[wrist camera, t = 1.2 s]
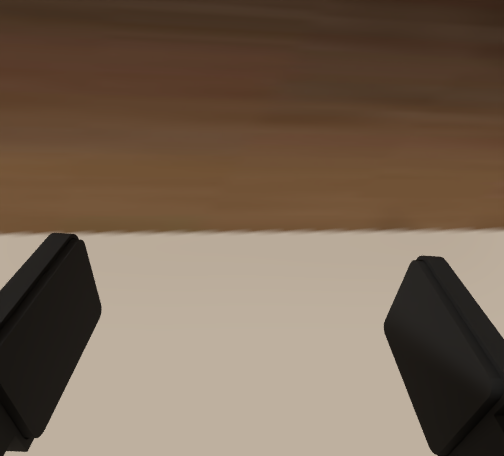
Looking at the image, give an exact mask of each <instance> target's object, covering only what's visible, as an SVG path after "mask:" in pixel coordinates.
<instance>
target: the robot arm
mask: <svg viewBox="0 0 504 456" xmlns="http://www.w3.org/2000/svg"><path fill="white" fill-rule="evenodd" d="M100 315H101V303H100V300H99V295H98V292H97V288H96V284H95V280H94V277H93V273H92V269H91V265H90V262H89V258H88V254H87V251H86V247H85V243H84V241H83V240H79V239H78V237H77V236H76V235H75V234H64V233H52V234H50V235H49V236H48V237H47V238H46V239H45V241H44V242H43V243H42V244H41V245H40V246H39V247H38V249H37V250H36V251H35V252H34V253H33V254H32V256H31V257H30V258H29V259H28V260H27V261H26V262H25V263H24V264H23V266H22V267H21V268H20V269H19V270H18V271H17V272H16V273H15V275H14V276H13V277H12V278H11V279H10V280H9V281H8V283H7V284H6V285H5V286H4V287H3V288H2V289H1V290H0V456H4V454H5V452H6V451H22V452H27V451H28V449H29V447H30V445H31V443H32V441H33V440H34V438H38V437H40V436H41V434H42V433H43V432H44V430H45V428H46V426H47V424H48V422H49V420H50V418H51V416H52V414H53V412H54V410H55V408H56V406H57V404H58V402H59V400H60V398H61V395H62V393H63V392H64V390H65V387H66V385H67V383H68V381H69V379H70V377H71V375H72V373H73V371H74V369H75V367H76V365H77V363H78V361H79V359H80V357H81V355H82V352H83V351H84V349H85V347H86V345H87V343H88V341H89V339H90V337H91V334H92V333H93V331H94V328H95V327H96V324H97V322H98V320H99V318H100ZM384 332H385V335H386V338H387V340H388V343H389V346H390V348H391V350H392V353H393V356H394V358H395V361H396V363H397V366H398V369H399V371H400V374H401V376H402V379H403V381H404V384H405V386H406V389H407V391H408V394H409V397H410V399H411V402H412V404H413V407H414V409H415V412H416V415H417V417H418V420H419V422H420V425H421V427H422V430H423V433H424V435H425V437H426V440H427V443H428V445H429V447H430V449H431V451H432V452H433V453H434V454H436V455H438V456H504V339H503V337H502V336H501V335H500V333H499V332H498V331H497V329H496V328H495V327H494V325H493V324H492V323H491V321H490V320H489V319H488V317H487V316H486V314H485V313H484V312H483V310H482V309H481V308H480V306H479V305H478V304H477V302H476V301H475V299H474V298H473V297H472V295H471V294H470V293H469V291H468V290H467V289H466V287H465V286H464V285H463V283H462V282H461V281H460V279H459V278H458V277H457V275H456V274H455V273H454V271H453V270H452V268H451V267H450V266H449V264H448V263H447V262H446V261H445V259H444V258H442V257H435V256H419V257H418V258H417V260H413V261H412V262H411V263H410V265H409V268H408V270H407V272H406V275H405V277H404V279H403V281H402V284H401V286H400V288H399V290H398V293H397V295H396V297H395V299H394V301H393V304H392V306H391V308H390V311H389V313H388V315H387V318H386V319H385V322H384Z"/></svg>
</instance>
